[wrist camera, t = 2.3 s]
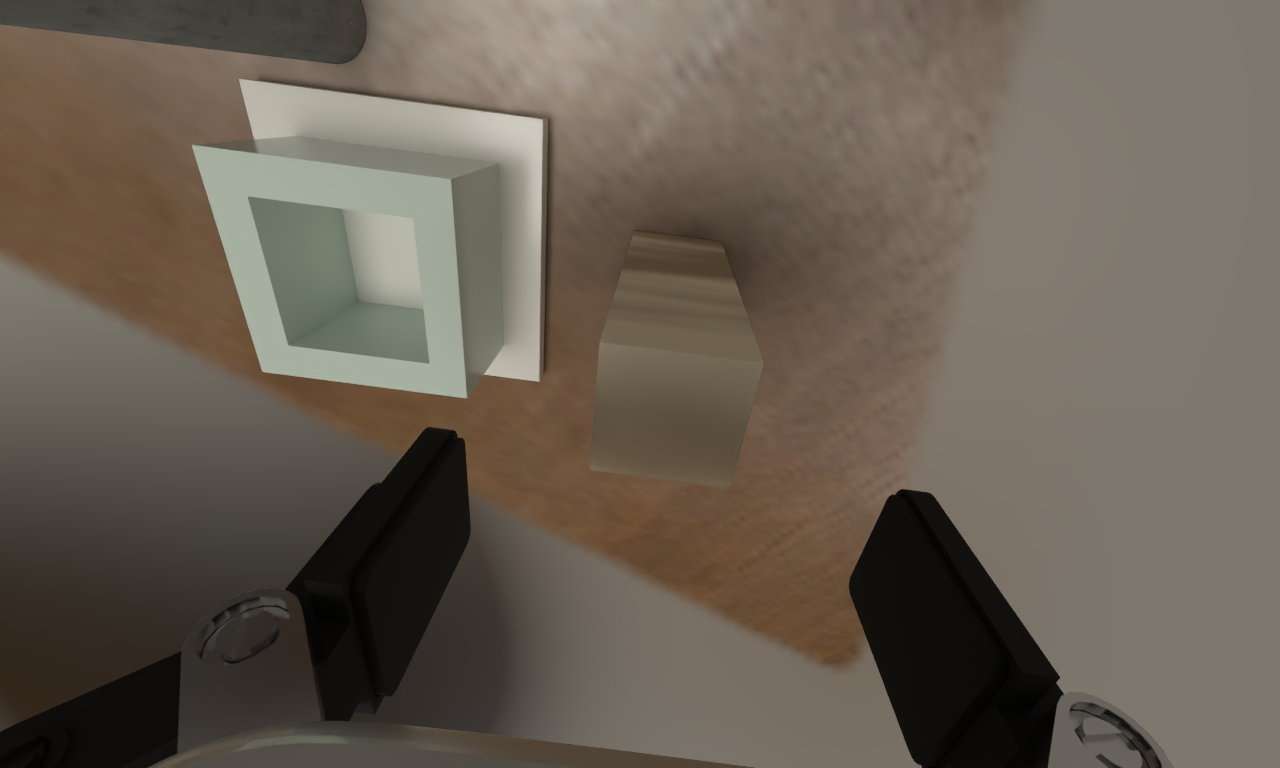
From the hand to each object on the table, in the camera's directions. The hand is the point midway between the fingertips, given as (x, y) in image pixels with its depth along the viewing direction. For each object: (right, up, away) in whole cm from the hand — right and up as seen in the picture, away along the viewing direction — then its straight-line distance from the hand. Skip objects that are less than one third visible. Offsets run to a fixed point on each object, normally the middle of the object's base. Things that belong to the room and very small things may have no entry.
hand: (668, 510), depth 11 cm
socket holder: (-11, +9, +12) cm, 19 cm away
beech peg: (+1, +8, +12) cm, 15 cm away
